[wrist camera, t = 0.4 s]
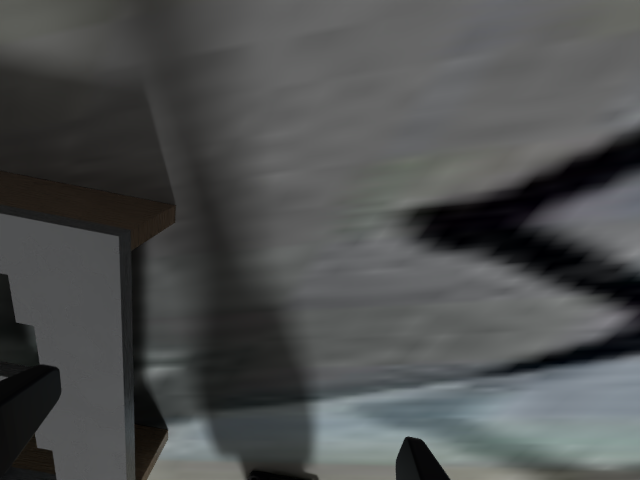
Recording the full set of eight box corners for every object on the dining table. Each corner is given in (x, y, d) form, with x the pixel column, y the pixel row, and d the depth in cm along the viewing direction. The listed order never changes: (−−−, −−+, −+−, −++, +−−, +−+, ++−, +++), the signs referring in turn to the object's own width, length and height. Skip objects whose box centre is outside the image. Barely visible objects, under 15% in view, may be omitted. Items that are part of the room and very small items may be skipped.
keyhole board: (167, 439, 29) (127, 515, 24) (11, 411, 29) (-67, 481, 23) (175, 205, 22) (118, 236, 16) (-39, 163, 21) (-173, 179, 16)
